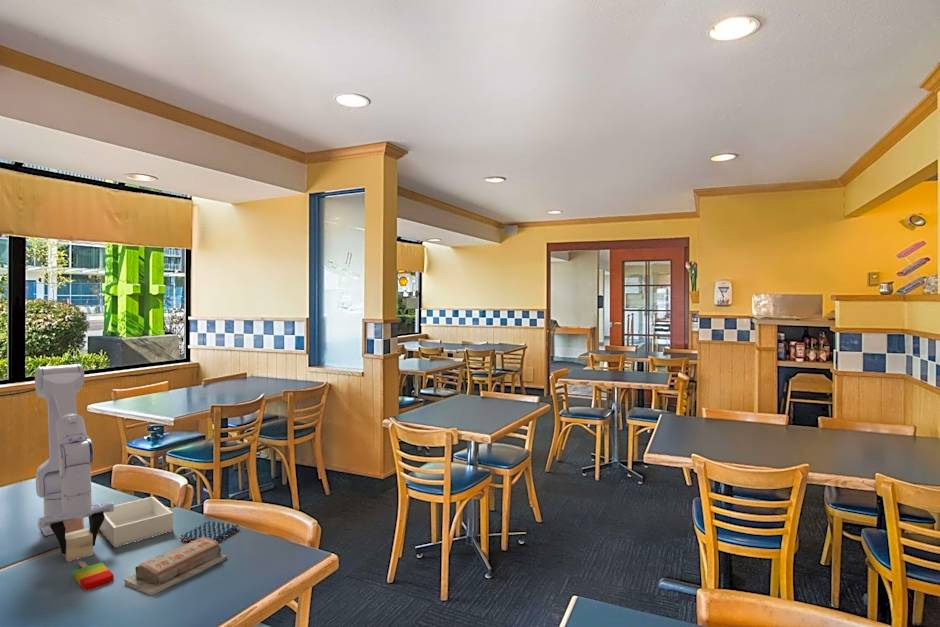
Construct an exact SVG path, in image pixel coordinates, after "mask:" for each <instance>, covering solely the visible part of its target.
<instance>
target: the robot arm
mask: <svg viewBox="0 0 940 627" xmlns="http://www.w3.org/2000/svg"><path fill="white" fill-rule="evenodd" d="M84 383H85V369H84V366H83V365H82V364H81V363H76V364H64V365H51V366H49V365H48V366H38V367H36V368H35V370H34V386H35V394H36V397H37V398H44V400H45V402H46V404H47V431H48V432H47V433H48V454H49V456H48V457H49V458H48V459H47V460H45V462H43V463H41V464H40V465H39V466H37V469H36V472H35V474H36V476H35V490H36V491H35V492H36V495H37V497H38V498H43V516H42V517H39V518H37V528H38V530H39V529H41V531H42V533H43V535H44V536H45V537H47V536H51V535H55V538H56V539H57V542H58V546H59V545H60V548H59V549H60V553H61V555H63V554H66V544H65V531H66V528H65V526H64V523H63V522H67V521H71V520H75V519H79V518H86V517H88V525H89V530H90V531H91V533H92V534H93V547H95V546H96V540H97V536H98V533H99V531H100V527H101V525H102V523H103V521H104V518H105V515H104V513H105V512H113V511H114V505H115V504H114V502H113V501H108V502H102V503H95V504H92V466H91V464H93V462H94V458H95V457H94V456H95V455H94V454H95V452H94V451H95V449H94V446H93V441H92V440H91V438H90V436H89V435H88V434H87V429H86V423H85V418H84V417H83V416H82V415H79V414H78V406H77V393H79V392H80V391H81V389H82V387H83V386H84ZM63 556H64V555H63Z"/></svg>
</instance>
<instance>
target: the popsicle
mask: <svg viewBox="0 0 940 627" xmlns="http://www.w3.org/2000/svg"><path fill="white" fill-rule="evenodd" d="M78 565H79V566H80V567H81V568H79V569H78V568H77V569H75V570H73V572H72V578H73V579H74V580H75V579H76V580H75V581H76V582H77V584H78V585H79V586H80V587H81V588H82V589H83V590H84V591H90V590H93V589H97V588H100V587H102V585H103V586H105V584H106V585H108V584H107V583H109V584H111V583H113V582H114V573H113V572H112V571H111V570H110V569H109V568H108V567H107V566H106V564H104V563H103V562H97V563H95V564H92V565H91V564H90V565H88V564H87V563H86V562H85V561H84V560H83V561H80V562H78ZM112 581H113V582H112ZM110 582H111V583H110ZM99 586H100V587H99ZM96 587H97V588H96Z"/></svg>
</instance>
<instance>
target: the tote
mask: <svg viewBox="0 0 940 627" xmlns="http://www.w3.org/2000/svg"><path fill="white" fill-rule="evenodd" d="M104 515H105V518H104V521H103V523H102V525H101V527H100V529H99V531H100V532H101V533H102V534H103V536H104V535H105V536H106V537H107V538H108V539H109V541H110V542H111V543H110V542H109V541H108V542H109V543H110V545H111V544H112V545H113V546H114V547H116V548H118V547H117V546H120V545H123V544H126V543H130V542H134V541H138V540H141V539H145V538H148V537H152V536H156V535H159V534H162V533H165V532H170V531H173V532H174V513H173V511H172V510H170V509H169V508H168V507H166V505H164V504H163V503H162V502H161V501H159V500H158V499H157V498H156V497H154V496H149V497H145V498H141V499H136V500H132V501H128V502H123V503H120V504H119V503H118V504H114V511H113V512H105V513H104ZM170 533H171V532H170ZM105 536H104V537H105ZM159 536H160V535H159ZM106 537H105V538H106ZM156 537H157V536H156ZM107 538H106V539H107ZM152 538H153V537H152ZM148 539H149V538H148ZM145 540H146V539H145ZM141 541H142V540H141ZM138 542H139V541H138ZM134 543H135V542H134ZM112 545H111V546H112ZM113 546H112V547H113ZM114 547H113V548H114ZM120 547H121V546H120Z"/></svg>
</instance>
